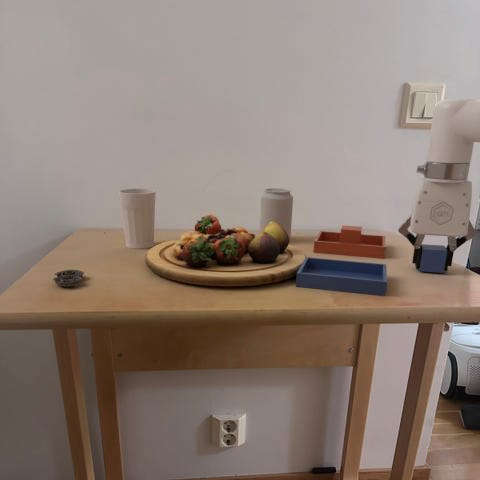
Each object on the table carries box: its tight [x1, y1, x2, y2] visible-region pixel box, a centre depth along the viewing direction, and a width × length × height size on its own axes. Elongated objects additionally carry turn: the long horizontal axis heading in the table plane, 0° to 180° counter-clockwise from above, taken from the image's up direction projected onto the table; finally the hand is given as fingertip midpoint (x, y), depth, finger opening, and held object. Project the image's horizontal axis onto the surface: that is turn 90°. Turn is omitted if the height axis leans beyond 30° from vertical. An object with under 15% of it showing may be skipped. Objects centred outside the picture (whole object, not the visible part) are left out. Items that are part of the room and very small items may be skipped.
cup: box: [117, 188, 156, 250], centre depth 108 cm, size 8×8×12 cm
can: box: [259, 187, 294, 239], centre depth 116 cm, size 8×8×12 cm
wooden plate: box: [144, 214, 306, 287], centre depth 96 cm, size 32×32×8 cm
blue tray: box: [295, 256, 388, 297], centre depth 88 cm, size 15×11×2 cm
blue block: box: [418, 243, 447, 274], centre depth 96 cm, size 4×4×4 cm
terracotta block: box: [340, 224, 363, 244], centre depth 110 cm, size 4×4×4 cm
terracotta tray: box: [312, 230, 387, 259], centre depth 111 cm, size 15×11×2 cm
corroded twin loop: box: [52, 269, 85, 288], centre depth 85 cm, size 5×8×1 cm, turn 12°
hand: (430, 267), depth 96 cm, fingers closed on blue block, 4 cm apart
